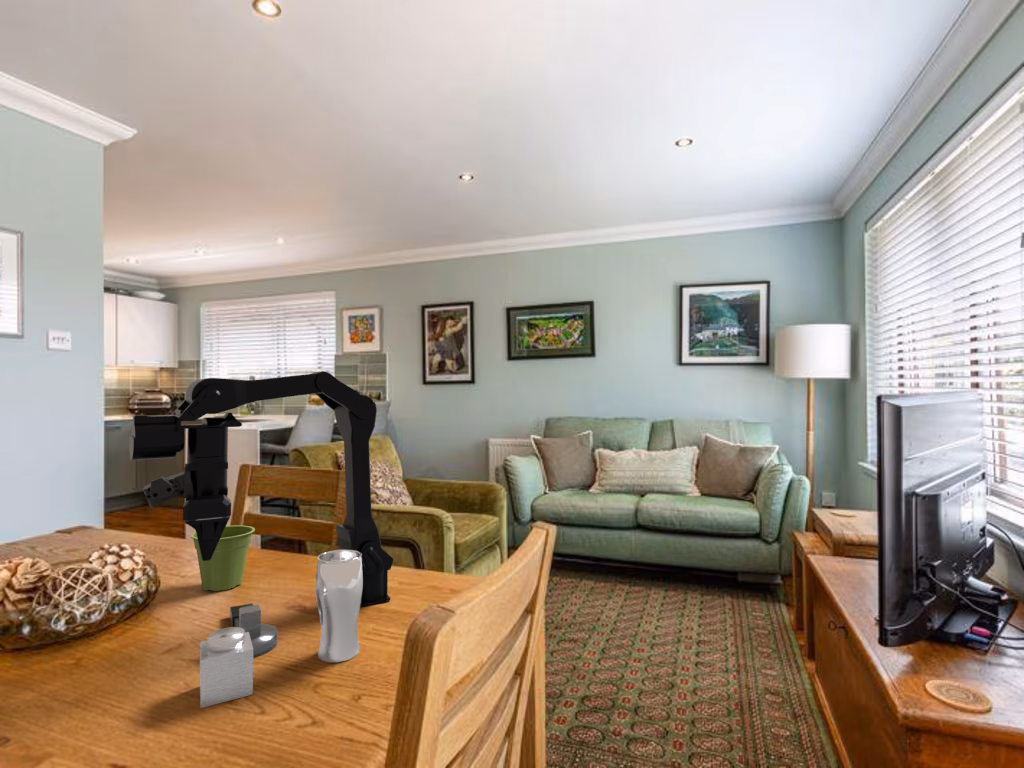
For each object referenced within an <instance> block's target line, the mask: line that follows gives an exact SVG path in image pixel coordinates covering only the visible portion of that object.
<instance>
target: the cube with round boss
mask: <svg viewBox="0 0 1024 768" xmlns="http://www.w3.org/2000/svg"><path fill="white" fill-rule="evenodd" d="M252 695H254V658H253V646H252V642H251V638H250V635H249V632H246V633H245V630H244V629H243V628H240V627H232V626H229V627H224V628H220V629H217V630H215V631H212V632H211V633H209V635H208V636H207V640H203V641H199V703H200V709H202V708H207V707H211V706H214V705H217V704H221V703H225V702H229V701H232V700H237V699H241V698H244V697H249V696H252Z"/></svg>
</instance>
